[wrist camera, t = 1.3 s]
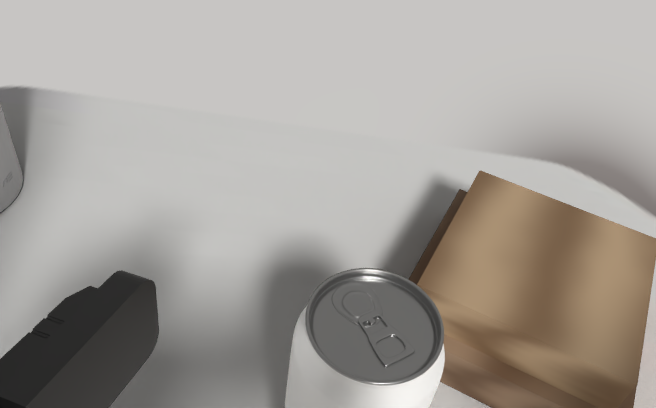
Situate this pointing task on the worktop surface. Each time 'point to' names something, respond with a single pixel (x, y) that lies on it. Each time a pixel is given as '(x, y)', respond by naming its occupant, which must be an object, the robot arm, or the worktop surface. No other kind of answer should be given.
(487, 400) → the tower base
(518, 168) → the worktop surface
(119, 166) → the worktop surface
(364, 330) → the can
